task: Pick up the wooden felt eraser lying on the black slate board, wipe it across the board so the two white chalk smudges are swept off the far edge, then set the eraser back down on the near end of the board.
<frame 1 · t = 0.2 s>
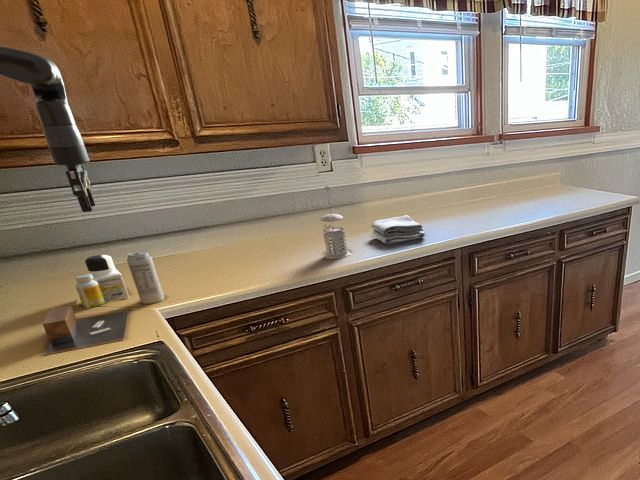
hand: (89, 209, 140), 28 cm above the worktop, tool pointing down, fingers open, 8 cm apart
eraser: (66, 334, 131), point 1 cm above the worktop, touching board
container: (112, 298, 158), on the worktop, touching supplement bottle
smudge 1: (98, 325, 137), point 1 cm above the worktop, touching board
smudge 2: (100, 332, 132), point 1 cm above the worktop, touching board
energy drink can: (154, 303, 153), on the worktop
supplement bottle: (95, 307, 152), on the worktop, touching container
french press: (336, 256, 194), on the worktop
board: (91, 333, 134), on the worktop
towel: (398, 239, 215), on the worktop
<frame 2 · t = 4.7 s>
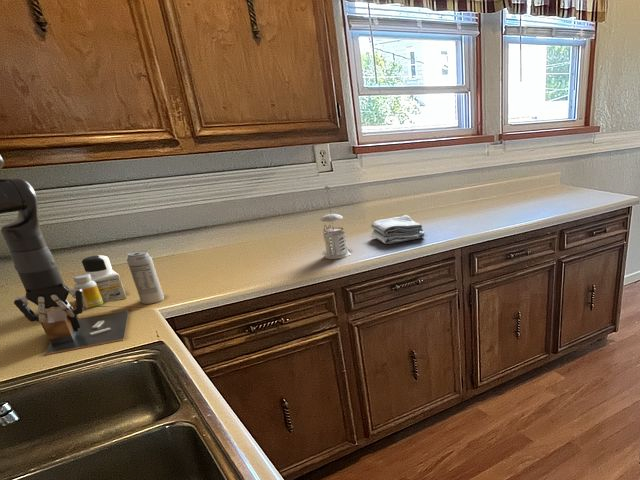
hand: (64, 331, 131), 2 cm above the worktop, tool pointing down, fingers closed on eraser, 4 cm apart
eraser: (66, 334, 131), point 1 cm above the worktop, touching board, gripper
supplement bottle: (94, 307, 151), on the worktop, touching container
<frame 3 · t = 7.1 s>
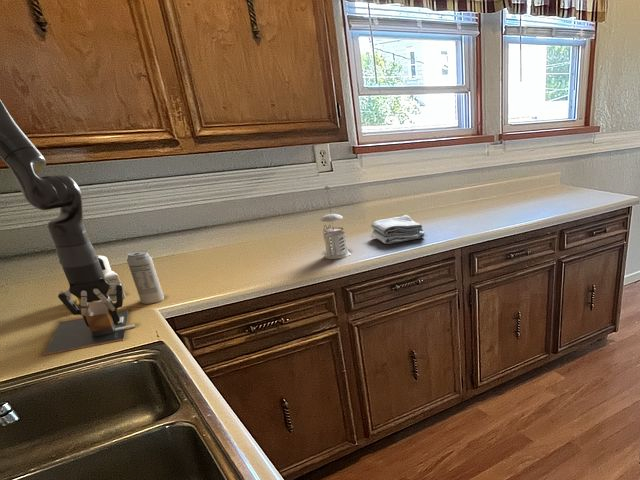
hand: (104, 325, 135), 2 cm above the worktop, tool pointing down, fingers closed on eraser, 4 cm apart
eraser: (105, 327, 135), point 1 cm above the worktop, touching gripper, smudge 2
smudge 1: (120, 321, 139), point 1 cm above the worktop, touching board
smudge 2: (125, 328, 134), point 1 cm above the worktop, touching eraser
supplement bottle: (93, 308, 151), on the worktop, touching container
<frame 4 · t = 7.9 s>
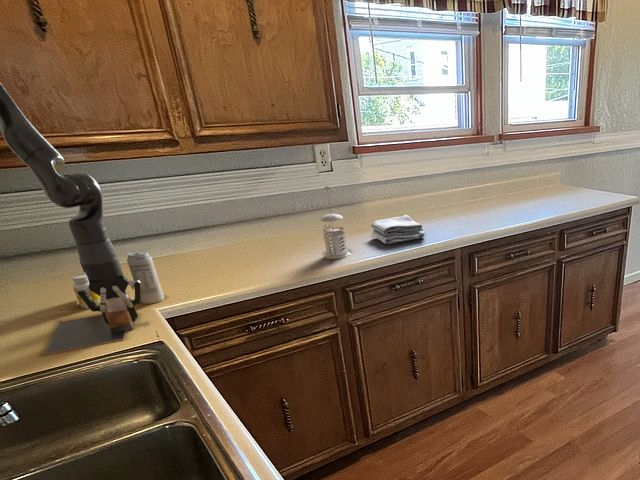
hand: (123, 321, 136), 2 cm above the worktop, tool pointing down, fingers closed on eraser, 4 cm apart
eraser: (124, 324, 137), point 1 cm above the worktop, touching gripper
smudge 1: (134, 320, 140), on the worktop, tilted 180°
smudge 2: (136, 330, 135), on the worktop
when the fingers open (2 cm above the worktop, at t = 14.8 s): eraser stays where it is, resting on board.
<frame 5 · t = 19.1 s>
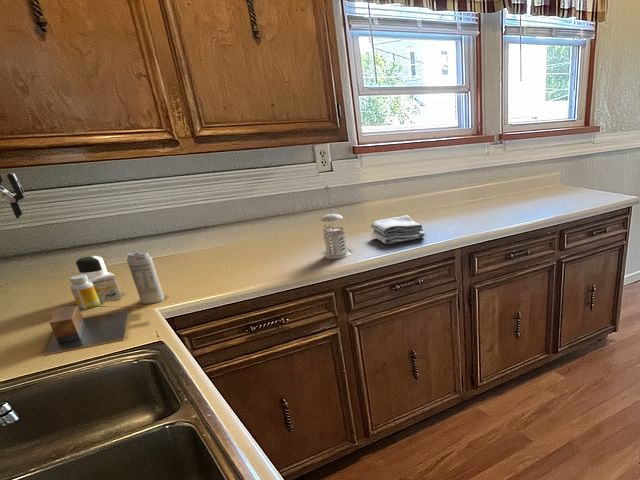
eraser: (72, 333, 132), point 1 cm above the worktop, touching board
container: (104, 300, 157), on the worktop, touching supplement bottle
everything else where it was.
at the end: smudge 1 inside the target area (8.2 cm from its centre), on the worktop; smudge 2 inside the target area (7.8 cm from its centre), on the worktop; eraser inside the target area on the board (0.4 cm from its centre), point 0.8 cm above the board's base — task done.
